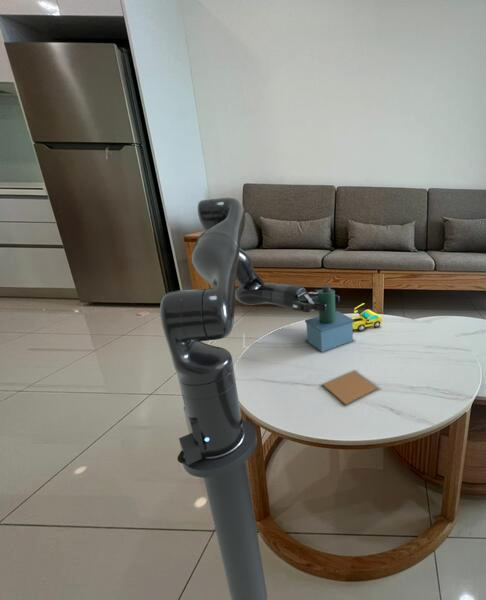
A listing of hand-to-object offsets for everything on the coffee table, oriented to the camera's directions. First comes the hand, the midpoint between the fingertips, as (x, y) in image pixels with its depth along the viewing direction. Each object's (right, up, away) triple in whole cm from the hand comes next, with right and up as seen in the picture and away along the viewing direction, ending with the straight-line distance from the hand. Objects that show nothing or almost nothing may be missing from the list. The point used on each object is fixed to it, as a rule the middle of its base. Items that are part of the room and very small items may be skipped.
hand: (332, 303), depth 102 cm
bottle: (-2, -6, +2) cm, 6 cm away
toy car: (+9, -9, +17) cm, 21 cm away
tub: (-2, -13, +5) cm, 14 cm away
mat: (+8, -22, -18) cm, 29 cm away
